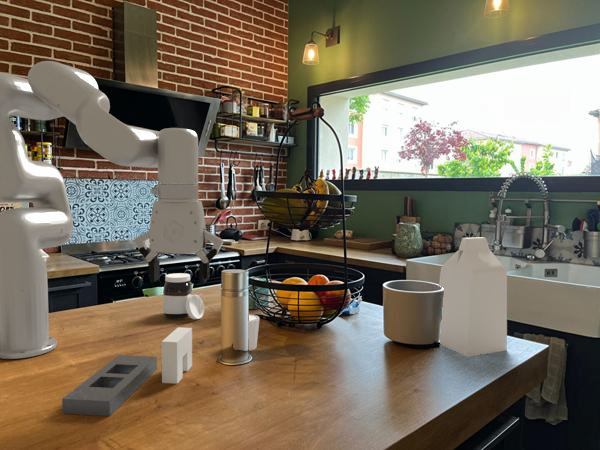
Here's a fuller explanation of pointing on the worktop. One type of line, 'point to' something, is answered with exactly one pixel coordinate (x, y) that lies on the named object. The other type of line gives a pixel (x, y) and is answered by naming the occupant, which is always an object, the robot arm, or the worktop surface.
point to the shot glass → (253, 331)
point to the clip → (176, 355)
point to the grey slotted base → (109, 386)
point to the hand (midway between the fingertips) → (179, 281)
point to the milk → (474, 300)
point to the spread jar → (181, 298)
